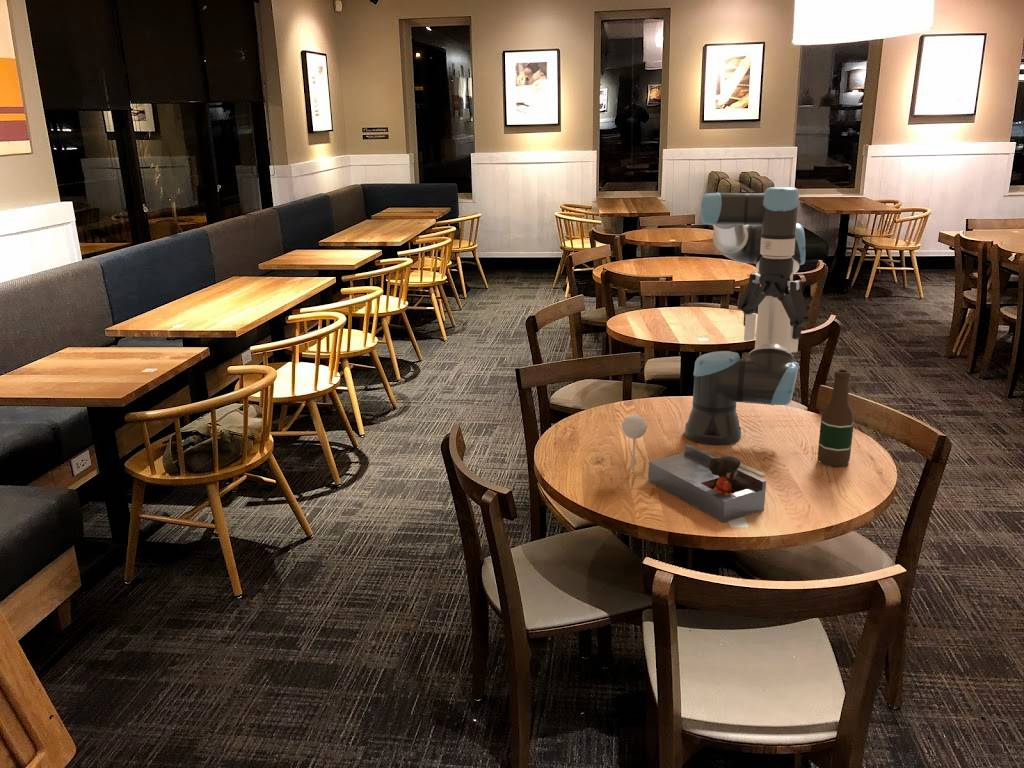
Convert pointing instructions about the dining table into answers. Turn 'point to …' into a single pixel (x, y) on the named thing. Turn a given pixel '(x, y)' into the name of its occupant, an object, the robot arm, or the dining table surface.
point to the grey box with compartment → (707, 485)
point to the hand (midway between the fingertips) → (769, 345)
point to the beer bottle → (837, 425)
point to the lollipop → (634, 430)
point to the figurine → (724, 472)
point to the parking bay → (752, 470)
